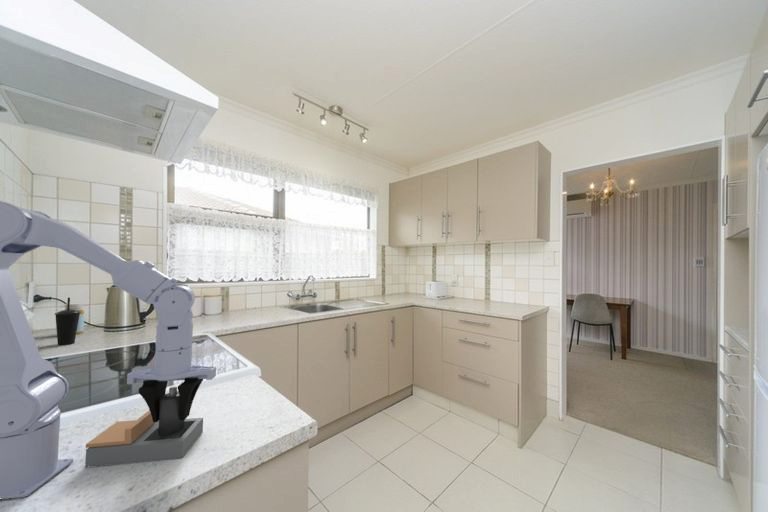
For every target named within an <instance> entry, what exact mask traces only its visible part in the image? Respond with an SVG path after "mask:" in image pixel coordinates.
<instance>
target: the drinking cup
mask: <svg viewBox="0 0 768 512" xmlns="http://www.w3.org/2000/svg"><path fill="white" fill-rule="evenodd" d="M70 303H71V297H67V303H66V304H67V310H65V309H62V310H59V311H57V312H55V313H54V316H55V325H56V327H55V328H56V338H57V346H68V345H73V344H75V342H76V337H77V335H76V332H77V327H78V321H79V316H80V313H81V311H78V310H73V309H69V308H70Z"/></svg>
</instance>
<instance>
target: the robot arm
mask: <svg viewBox="0 0 768 512" xmlns="http://www.w3.org/2000/svg"><path fill="white" fill-rule="evenodd" d="M40 247H49V248H57V249H59V250H62V251H65V252H66V253H68V254H70V255H72V256H74V257H76V258H78V259H80V260H82V261H83V262H86V263H87V264H89V265H92V266H93V267H95V268H97V269H99V270H101V271H103V272H105V273H107V274H109V275H110V276H111V281H112V285H113V286H115V288H116V287H117V288H119V289H120V290H122V291H123V292H125V293H127V294H129V295H130V296H133V297H134V298H137V299H138V300H140V301H142V302H144V303H146V304H149V305H151V304H152V305H153V309H154V310H155V312H156V313H157V325H156V331H155V332H156V336H155V356H154V357H155V359H154V368H153V367H152V368H146V369H137V370H135V369H134V370H133V371H131V372H129V373H127V376H126V385H135V384H136V383H143V384H142V385H141V387H139V388H138V394H139V395H140V396H141V397H142V399H143V400H144V401H145V402H146V404H147V408H148V411H149V410H150V413H151V416H152V420H153V422H158V421H159V404H160V397H161V396H163V395H165V394H166V393H167V391H166V390H167V386H168V382H171V381H183V382H181V383H180V384H179V385H177V391H179V396H180V420H185V419H188V417H189V416H190V413H191V408H192V405H193V402H194V400H195V397H196V394H197V392H198V390H199V389H200V386H201V385H202V383H203V381H204V380H206V381H211V380H213V379H214V378H215V377H216V376H217V366H205V365H195V364H194V365H192V359H193V357H192V356H193V351H192V350H193V336H194V335H193V330H194V322H193V317H194V313H193V309H192V307H193V306H194V304H195V301H196V296H195V292H194V291H193V289H192V288H190V287H189V286H188V285H187V284H183V283H178V282H179V279H177V278H176V277H172V278H171V277H169V276H167V275H165V274H164V273H162V272H161V271H160V270H158V269H156V268H155V267H156V265H155V264H154V263H153V262H151V261H145V262H144V261H143V260H140V259H137V260H136V259H135V260H126V259H124V258H122V257H121V256H120V255H118V254H116V253H115V252H113V251H111V250H110V249H108V248H107V247H105V246H103V245H102V244H100V243H98V241H95V240H94V239H92V238H91V237H90V236H87V235H86V234H84V233H83V232H81V231H80V230H78V229H77V228H75V227H72V226H70V225H69V224H67V223H65V222H63V221H60V220H58V219H54V218H53V217H51V216H50V215H48V214H46V213H44V212H41V211H38V210H33V209H28V208H23V207H20V206H17V205H14V204H12V203H10V202H6V201H1V200H0V498H1V499H2V500H10V499H9V498H11V499H19V498H25V497H27V496H29V495H31V494H32V493H33V492H35V491H36V490H38V489H39V488H40V487H42V486H43V485H44V484H45V483H47V482H48V481H50V480H51V479H52V478H53V477H55V476H56V475H57V474H59V473H60V472H61V471H62V470H64V469H66V468H67V467H68V466H69V465H71V464H72V463H73V462H74V458H64V459H59V445H60V428H61V427H60V426H61V414H62V413H61V412H62V411H61V410H60V409H59V404H60V403H61V402H62V401H63V400H64V399H65V398H66V396H67V394H68V393H69V388H70V385H69V382H68V380H67V378H65V376H63V375H61V374H60V373H59V372H57V370H56V369H55V367H54V364H53V363H52V362H51V361H48V360H47V359H45V358H43V357H42V356H41V354H40V351H39V349H38V346H37V343H36V341H35V338H34V335H33V332H32V329H31V326H30V323H29V321H28V319H27V316H26V314H25V310H24V308H23V306H22V302H21V300H20V297H19V295H18V292H17V289H16V286H15V283H14V281H13V277H12V275H11V272H10V270H9V269H10V267H11V266H13V265H14V264H15V263H16V262H17V261H19V259H21V257H23V256H24V255H25V254H27V253H29V252H32V251H34V250H36V249H38V248H40ZM4 498H5V499H4Z"/></svg>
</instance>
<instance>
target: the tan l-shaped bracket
mask: <svg viewBox="0 0 768 512" xmlns="http://www.w3.org/2000/svg"><path fill="white" fill-rule="evenodd" d="M154 423H155V422H153V420H152V416H151V413H150V410H149V409H148V411H146V412H145V413H144V414H142V415H141V416H140V417H138V418H137V419H134V420H132V419H131V420H123V421H121V420H120V421H118V420H117V421H116V422H115V423H113V424H111V425H110V426H109V427H108V428H105V430H104V431H102V432H100V434H98V435H96V436H95V437H94V438H92V439H91V440H89V441H88V442H87V443H85V449H88V448H89V447H100V446H111V445H122V444H131V443H132V442H133V441H134V440H136V439H137V438H138V437H139V436H140V435H141V434H142V433H144V432H145V431H146V430H147V429H148V428H149V427H150V426H152V425H153V424H154Z"/></svg>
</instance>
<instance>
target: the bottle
mask: <svg viewBox="0 0 768 512" xmlns="http://www.w3.org/2000/svg"><path fill="white" fill-rule="evenodd" d="M69 309H73V310H78V311H81V313H80V316H79V321H78V327H77V332H76V334H77V335H80V333H81V334H82V333H84V326H85V311H84V302H70V308H69ZM64 310H67V303H65V305H64Z"/></svg>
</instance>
